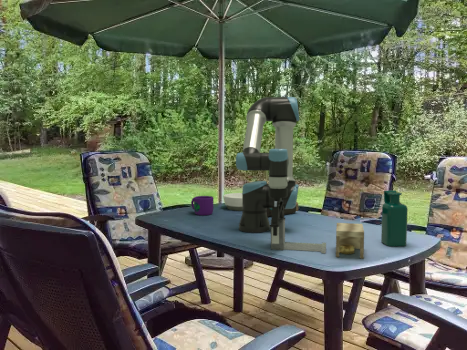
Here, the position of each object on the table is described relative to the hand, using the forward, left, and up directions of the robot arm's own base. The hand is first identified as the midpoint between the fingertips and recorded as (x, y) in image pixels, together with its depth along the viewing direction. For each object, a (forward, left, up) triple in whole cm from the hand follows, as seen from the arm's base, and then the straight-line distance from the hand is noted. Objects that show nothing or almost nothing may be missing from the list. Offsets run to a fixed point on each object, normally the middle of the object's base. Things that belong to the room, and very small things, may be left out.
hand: (277, 239), depth 176 cm
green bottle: (+46, +18, -4) cm, 50 cm away
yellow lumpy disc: (+27, 0, -4) cm, 27 cm away
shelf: (+28, 0, -4) cm, 28 cm away
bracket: (+8, 0, -4) cm, 9 cm away
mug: (-55, +67, -4) cm, 87 cm away
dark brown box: (-11, +70, -4) cm, 71 cm away
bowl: (-36, +89, -4) cm, 96 cm away
